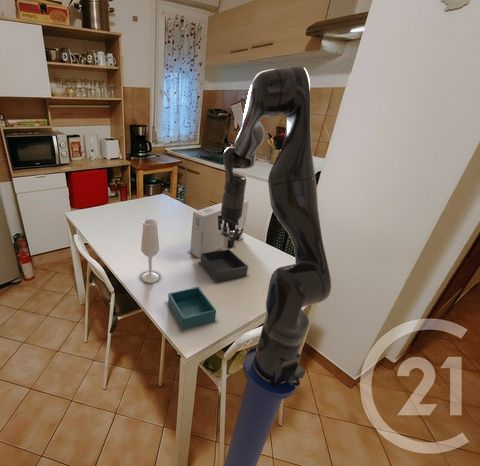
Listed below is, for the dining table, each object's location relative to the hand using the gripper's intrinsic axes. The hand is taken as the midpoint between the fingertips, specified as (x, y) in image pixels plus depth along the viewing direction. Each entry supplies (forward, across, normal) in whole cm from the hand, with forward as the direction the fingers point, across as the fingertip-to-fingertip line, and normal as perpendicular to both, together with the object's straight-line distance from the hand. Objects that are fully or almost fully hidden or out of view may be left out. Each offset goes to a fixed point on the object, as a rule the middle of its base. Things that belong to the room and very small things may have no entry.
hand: (226, 244), depth 103 cm
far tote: (+12, 0, 0) cm, 12 cm away
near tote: (+12, +18, -23) cm, 31 cm away
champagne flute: (+12, -4, -30) cm, 33 cm away
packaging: (+12, -18, +8) cm, 23 cm away
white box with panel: (+1, 0, 0) cm, 1 cm away
